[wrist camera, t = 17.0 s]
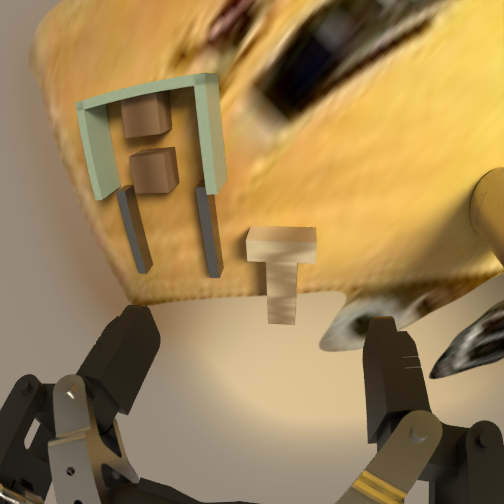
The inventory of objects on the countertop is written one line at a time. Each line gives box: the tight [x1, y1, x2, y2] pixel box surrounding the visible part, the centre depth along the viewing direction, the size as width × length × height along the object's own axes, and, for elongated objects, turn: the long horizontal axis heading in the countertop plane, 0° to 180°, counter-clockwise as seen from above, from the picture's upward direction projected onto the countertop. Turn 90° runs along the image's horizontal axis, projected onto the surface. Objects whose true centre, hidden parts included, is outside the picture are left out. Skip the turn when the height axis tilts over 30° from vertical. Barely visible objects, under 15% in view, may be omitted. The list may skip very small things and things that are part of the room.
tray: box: [76, 73, 227, 200], centre depth 27 cm, size 14×11×4 cm
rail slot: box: [116, 181, 224, 278], centre depth 33 cm, size 11×11×2 cm
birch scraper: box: [246, 226, 317, 325], centre depth 34 cm, size 7×3×12 cm
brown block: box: [120, 91, 172, 138], centre depth 26 cm, size 4×4×3 cm
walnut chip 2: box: [129, 147, 179, 193], centre depth 29 cm, size 4×4×3 cm
